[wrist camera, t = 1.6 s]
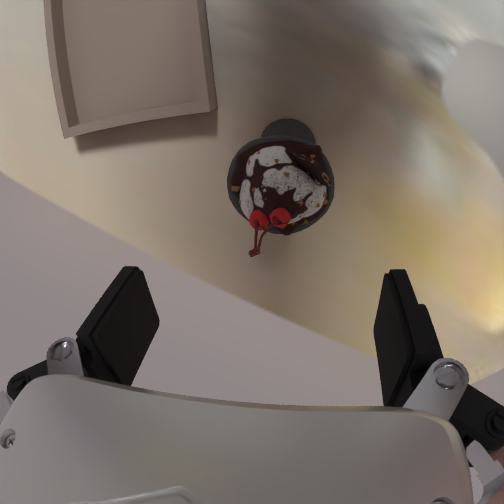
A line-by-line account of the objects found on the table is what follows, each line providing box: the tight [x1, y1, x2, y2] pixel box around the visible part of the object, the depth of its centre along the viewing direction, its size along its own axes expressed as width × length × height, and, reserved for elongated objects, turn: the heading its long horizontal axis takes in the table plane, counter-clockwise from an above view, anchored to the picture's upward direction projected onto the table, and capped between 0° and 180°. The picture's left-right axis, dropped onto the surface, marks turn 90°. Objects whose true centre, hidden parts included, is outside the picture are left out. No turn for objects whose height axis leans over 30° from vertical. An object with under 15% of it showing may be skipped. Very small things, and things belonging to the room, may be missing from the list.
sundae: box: [227, 119, 334, 257], centre depth 22 cm, size 7×7×15 cm
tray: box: [44, 0, 217, 139], centre depth 22 cm, size 20×16×2 cm
